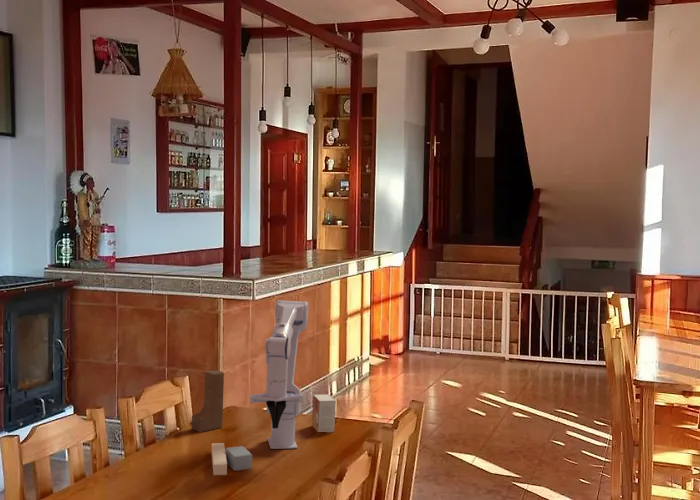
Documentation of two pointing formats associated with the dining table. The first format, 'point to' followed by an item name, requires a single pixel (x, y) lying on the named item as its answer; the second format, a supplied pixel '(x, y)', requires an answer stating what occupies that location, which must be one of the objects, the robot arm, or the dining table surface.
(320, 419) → the small box
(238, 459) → the block
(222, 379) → the wooden block
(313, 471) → the dining table surface
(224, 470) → the beige rectangular bar
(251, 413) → the dining table surface
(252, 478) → the dining table surface
